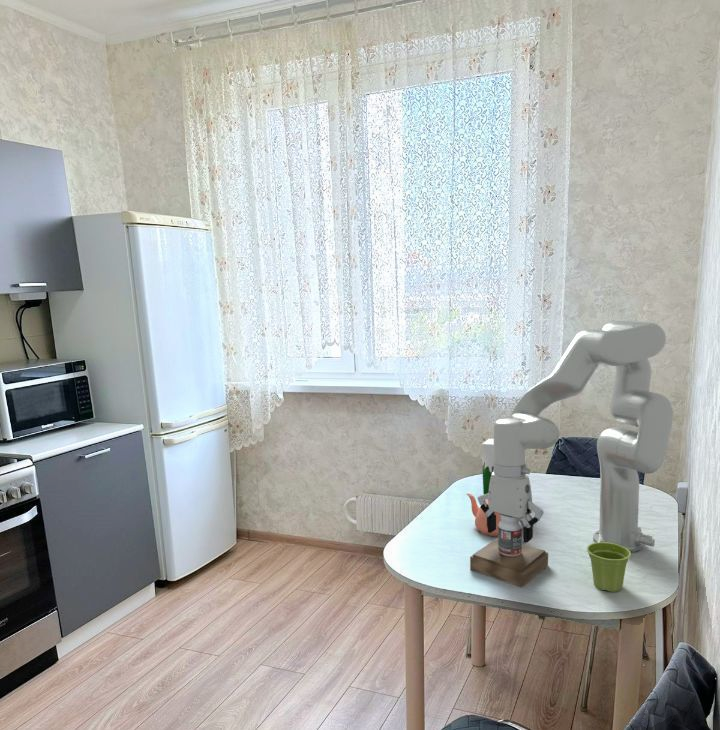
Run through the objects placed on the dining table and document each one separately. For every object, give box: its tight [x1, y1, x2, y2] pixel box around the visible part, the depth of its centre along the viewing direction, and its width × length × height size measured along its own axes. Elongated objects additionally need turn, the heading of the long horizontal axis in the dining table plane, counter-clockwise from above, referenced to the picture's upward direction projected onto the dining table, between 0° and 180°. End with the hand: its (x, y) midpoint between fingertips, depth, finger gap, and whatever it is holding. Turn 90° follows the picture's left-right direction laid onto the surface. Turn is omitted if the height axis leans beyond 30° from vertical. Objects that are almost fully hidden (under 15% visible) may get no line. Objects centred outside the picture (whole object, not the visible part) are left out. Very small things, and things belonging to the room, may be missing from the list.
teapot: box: [465, 493, 522, 538], centre depth 170 cm, size 12×18×10 cm
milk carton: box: [481, 438, 494, 495], centre depth 199 cm, size 9×9×20 cm
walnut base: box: [469, 537, 549, 588], centre depth 147 cm, size 14×14×4 cm
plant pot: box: [586, 542, 632, 593], centre depth 136 cm, size 9×9×9 cm
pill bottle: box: [497, 514, 523, 557], centre depth 146 cm, size 6×6×10 cm
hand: (509, 536), depth 146 cm, fingers open, 9 cm apart
